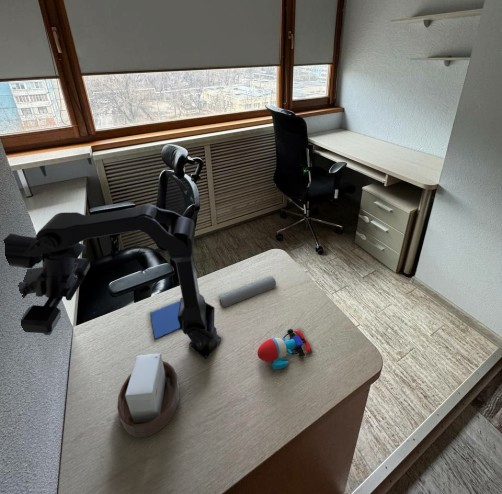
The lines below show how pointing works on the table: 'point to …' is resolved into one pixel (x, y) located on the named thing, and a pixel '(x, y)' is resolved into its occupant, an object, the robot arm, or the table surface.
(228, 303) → the gray half cylinder
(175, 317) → the cloth
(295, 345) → the toy figure
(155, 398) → the small box
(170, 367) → the bowl
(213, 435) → the table surface
